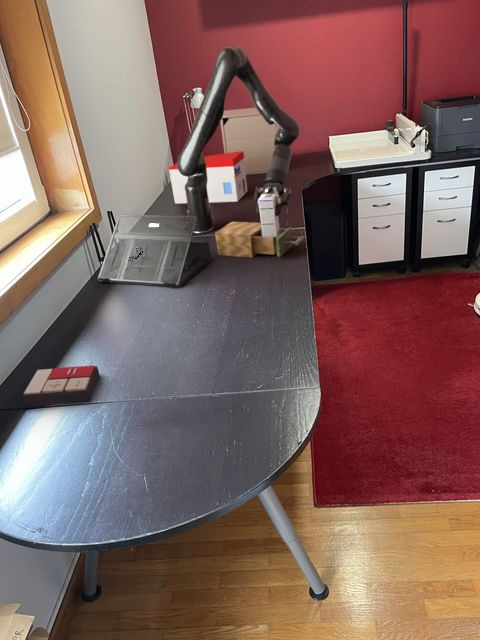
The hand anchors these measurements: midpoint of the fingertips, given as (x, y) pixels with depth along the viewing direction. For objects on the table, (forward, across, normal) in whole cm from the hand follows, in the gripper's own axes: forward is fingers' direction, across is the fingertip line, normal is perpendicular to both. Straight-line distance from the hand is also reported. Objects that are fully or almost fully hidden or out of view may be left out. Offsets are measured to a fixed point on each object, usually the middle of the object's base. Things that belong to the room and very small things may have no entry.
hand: (267, 214), depth 183 cm
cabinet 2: (+10, -12, +12) cm, 19 cm away
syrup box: (+5, 0, +7) cm, 9 cm away
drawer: (+9, +2, +11) cm, 14 cm away
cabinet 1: (-87, -74, +110) cm, 158 cm away
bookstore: (-40, -68, +62) cm, 100 cm away
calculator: (+79, -11, -58) cm, 98 cm away
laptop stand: (+28, -36, -7) cm, 46 cm away
